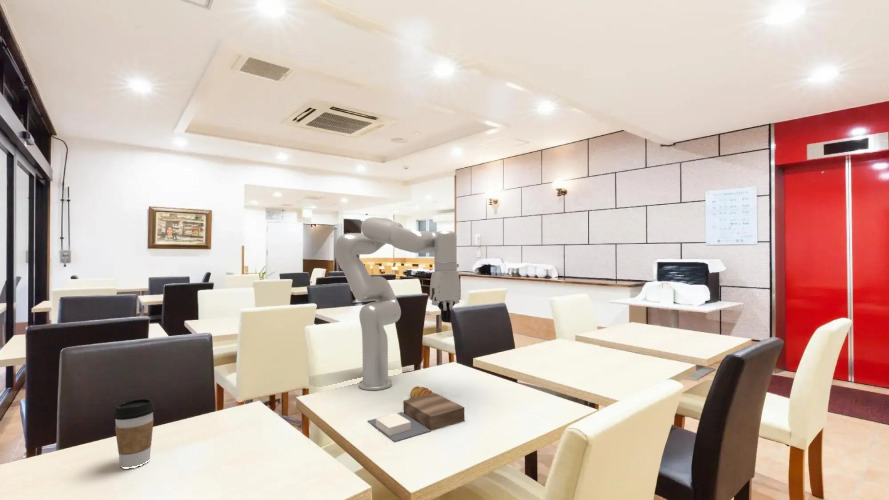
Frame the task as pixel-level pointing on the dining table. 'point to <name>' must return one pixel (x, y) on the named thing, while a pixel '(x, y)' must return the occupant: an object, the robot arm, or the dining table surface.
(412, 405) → the serving board
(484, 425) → the dining table surface
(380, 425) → the tile
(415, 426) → the mat
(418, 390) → the pastry
